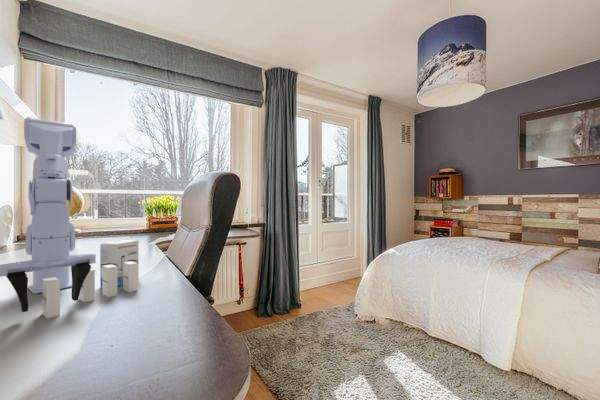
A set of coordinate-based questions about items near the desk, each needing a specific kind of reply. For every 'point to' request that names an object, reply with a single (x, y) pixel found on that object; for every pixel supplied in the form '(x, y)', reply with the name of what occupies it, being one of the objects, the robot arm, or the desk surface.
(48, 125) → the robot arm
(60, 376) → the desk surface
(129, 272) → the domino
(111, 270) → the domino
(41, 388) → the desk surface
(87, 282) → the domino
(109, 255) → the ink box
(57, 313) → the domino
